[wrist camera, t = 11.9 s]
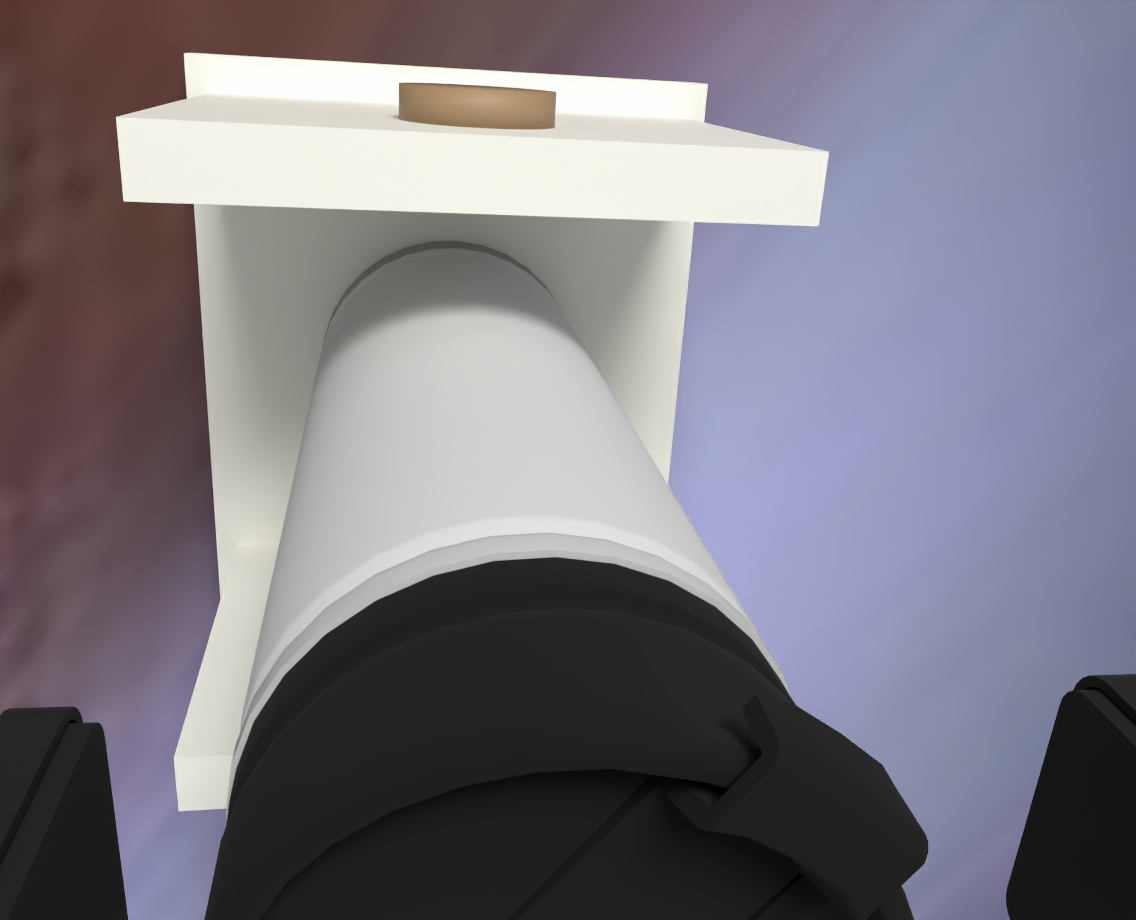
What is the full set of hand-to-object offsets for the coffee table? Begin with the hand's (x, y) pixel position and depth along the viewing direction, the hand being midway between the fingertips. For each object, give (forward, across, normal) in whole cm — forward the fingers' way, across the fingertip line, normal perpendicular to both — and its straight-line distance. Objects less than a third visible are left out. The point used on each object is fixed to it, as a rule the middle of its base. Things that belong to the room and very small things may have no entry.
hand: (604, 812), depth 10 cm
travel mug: (+18, +1, +1) cm, 18 cm away
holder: (+19, +1, +1) cm, 19 cm away
